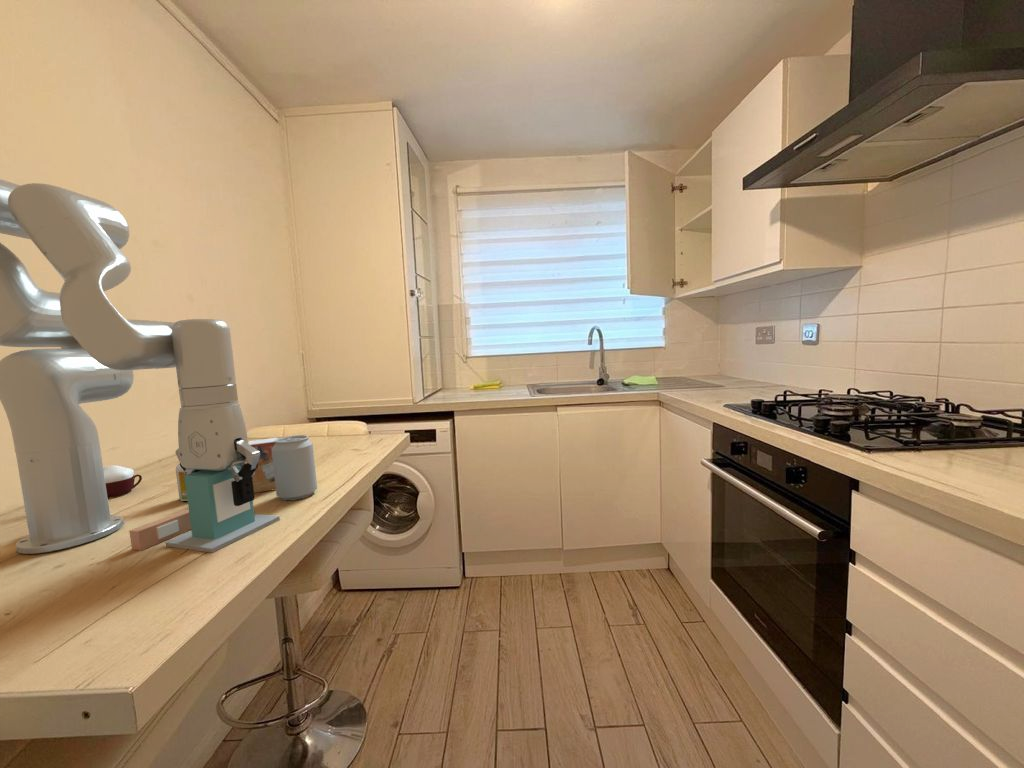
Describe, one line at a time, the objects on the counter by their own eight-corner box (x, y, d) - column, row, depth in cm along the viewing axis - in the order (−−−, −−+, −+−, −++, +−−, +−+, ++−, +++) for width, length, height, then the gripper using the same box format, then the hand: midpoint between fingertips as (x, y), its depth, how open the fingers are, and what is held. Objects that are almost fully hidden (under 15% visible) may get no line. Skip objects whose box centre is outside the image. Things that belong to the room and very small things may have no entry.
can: (306, 501, 83) (300, 440, 82) (268, 503, 83) (262, 442, 82) (324, 488, 91) (318, 432, 90) (289, 489, 91) (283, 434, 90)
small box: (238, 496, 88) (232, 446, 87) (241, 489, 93) (235, 442, 92) (282, 488, 92) (276, 440, 91) (282, 482, 97) (277, 436, 96)
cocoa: (143, 488, 99) (139, 437, 99) (141, 494, 94) (137, 440, 94) (86, 497, 94) (81, 443, 93) (80, 504, 89) (76, 446, 88)
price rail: (131, 549, 66) (129, 530, 66) (229, 509, 81) (227, 494, 81) (141, 550, 65) (139, 531, 65) (238, 510, 80) (236, 494, 80)
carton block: (233, 518, 74) (226, 462, 73) (255, 521, 73) (249, 464, 72) (192, 536, 68) (184, 475, 67) (215, 539, 66) (208, 476, 65)
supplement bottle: (216, 495, 90) (210, 450, 89) (186, 504, 86) (180, 456, 85) (204, 491, 93) (199, 448, 92) (175, 500, 88) (169, 454, 88)
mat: (166, 546, 66) (165, 542, 66) (237, 515, 78) (236, 512, 78) (212, 552, 63) (212, 548, 63) (279, 519, 74) (279, 516, 74)
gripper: (146, 401, 67) (161, 506, 69) (227, 400, 62) (240, 513, 64) (194, 395, 75) (206, 490, 76) (271, 393, 69) (282, 496, 71)
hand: (222, 501), depth 70 cm, fingers open, 9 cm apart
